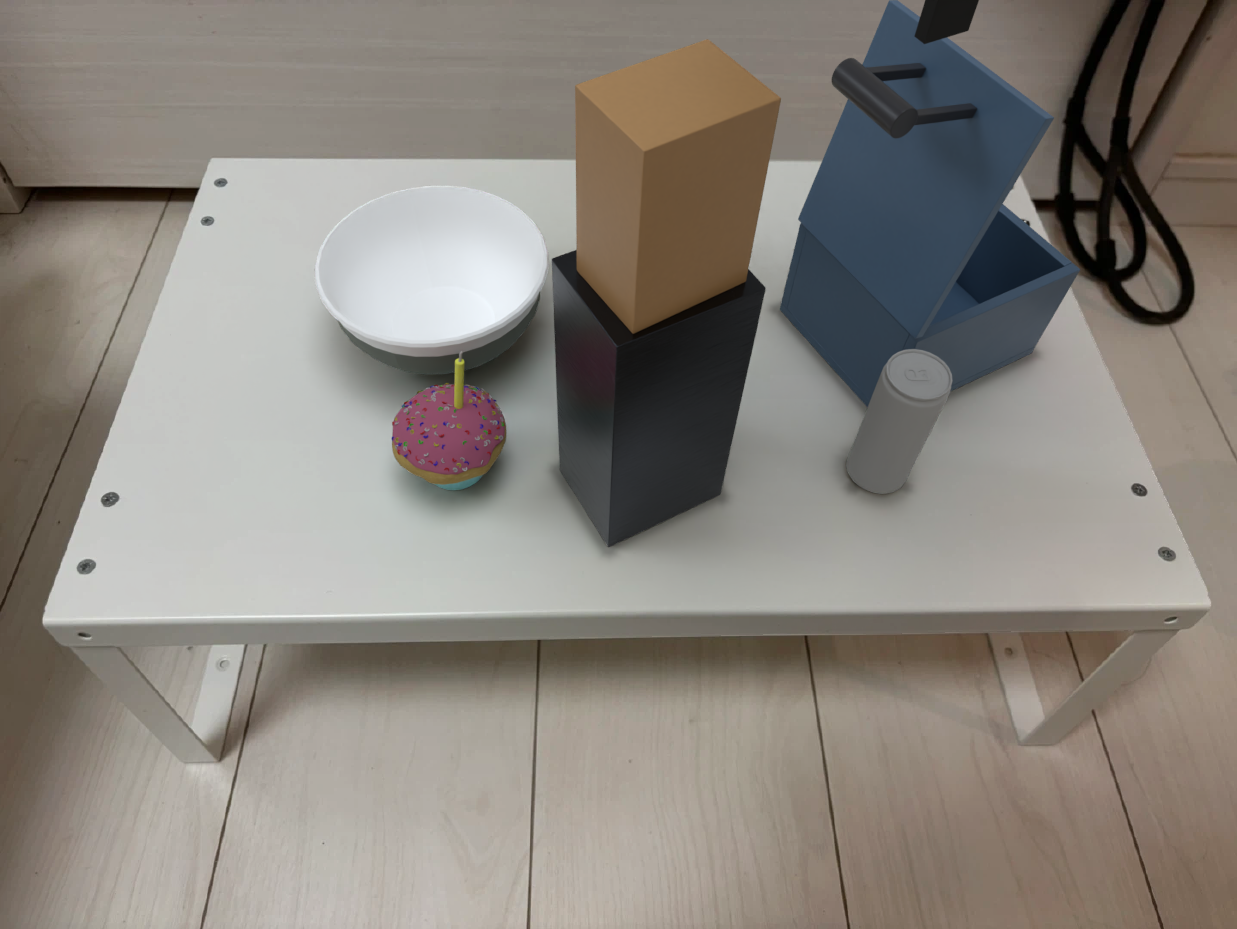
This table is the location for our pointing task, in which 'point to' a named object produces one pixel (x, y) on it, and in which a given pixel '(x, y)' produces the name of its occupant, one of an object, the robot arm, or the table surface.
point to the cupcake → (449, 433)
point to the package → (670, 180)
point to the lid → (917, 165)
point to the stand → (647, 401)
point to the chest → (965, 323)
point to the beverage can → (898, 420)
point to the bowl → (433, 277)
